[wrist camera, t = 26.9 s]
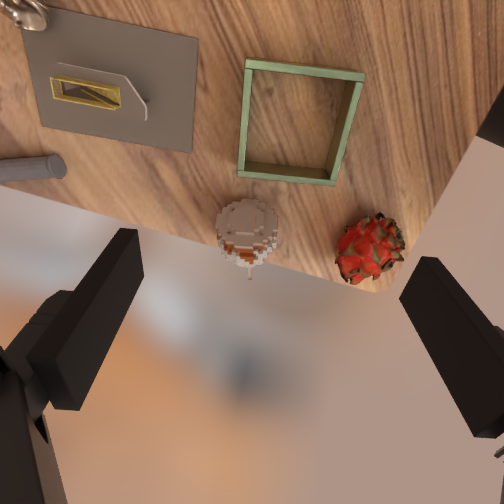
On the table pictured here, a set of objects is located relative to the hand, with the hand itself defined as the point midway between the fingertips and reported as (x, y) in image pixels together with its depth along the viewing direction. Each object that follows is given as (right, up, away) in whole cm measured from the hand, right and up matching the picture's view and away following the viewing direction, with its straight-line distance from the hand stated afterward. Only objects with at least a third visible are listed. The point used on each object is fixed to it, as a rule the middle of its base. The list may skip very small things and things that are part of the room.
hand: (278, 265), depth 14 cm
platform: (-17, +19, +19) cm, 32 cm away
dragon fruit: (+15, +3, +31) cm, 34 cm away
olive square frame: (+4, +16, +21) cm, 27 cm away
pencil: (-31, +12, +25) cm, 42 cm away
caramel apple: (-2, +5, +23) cm, 23 cm away
